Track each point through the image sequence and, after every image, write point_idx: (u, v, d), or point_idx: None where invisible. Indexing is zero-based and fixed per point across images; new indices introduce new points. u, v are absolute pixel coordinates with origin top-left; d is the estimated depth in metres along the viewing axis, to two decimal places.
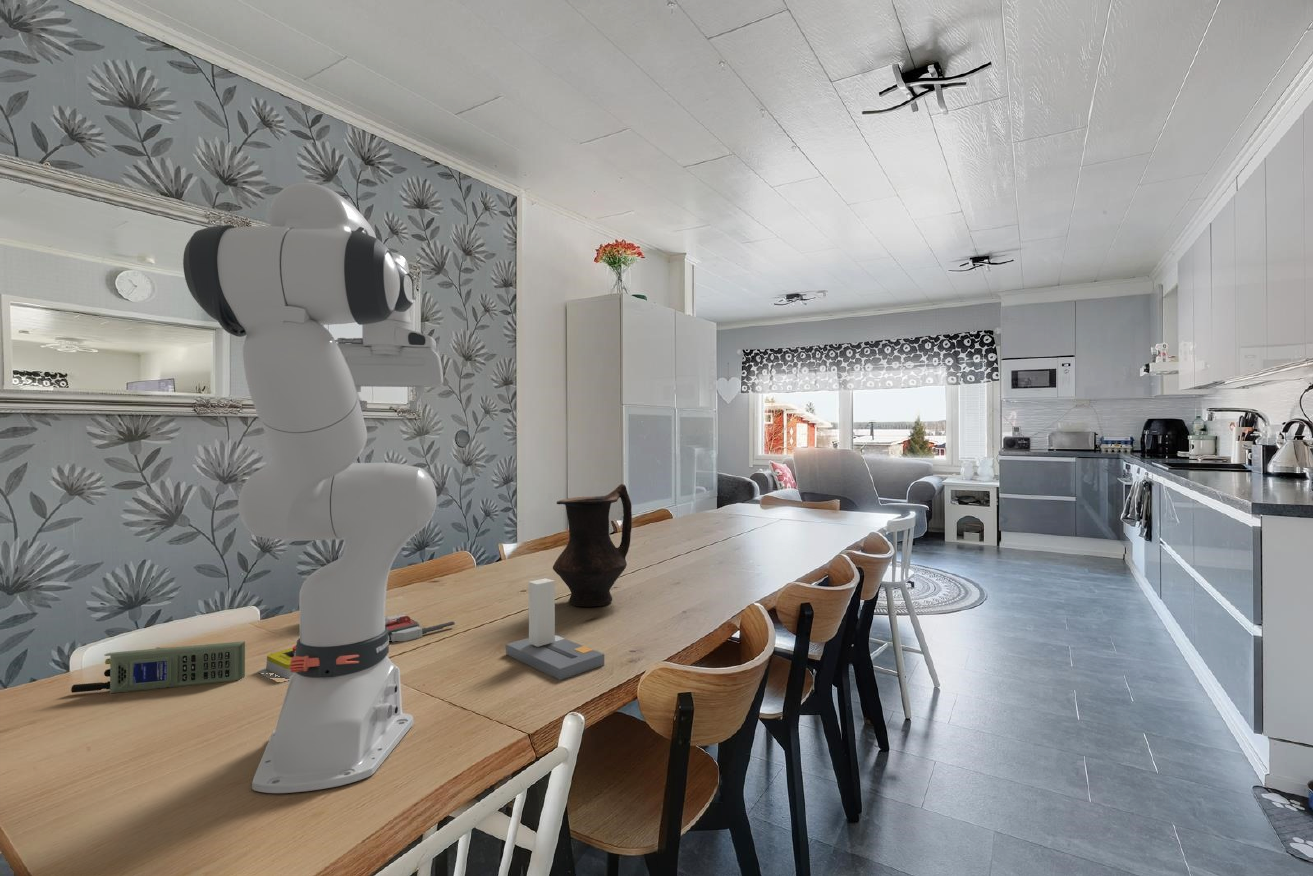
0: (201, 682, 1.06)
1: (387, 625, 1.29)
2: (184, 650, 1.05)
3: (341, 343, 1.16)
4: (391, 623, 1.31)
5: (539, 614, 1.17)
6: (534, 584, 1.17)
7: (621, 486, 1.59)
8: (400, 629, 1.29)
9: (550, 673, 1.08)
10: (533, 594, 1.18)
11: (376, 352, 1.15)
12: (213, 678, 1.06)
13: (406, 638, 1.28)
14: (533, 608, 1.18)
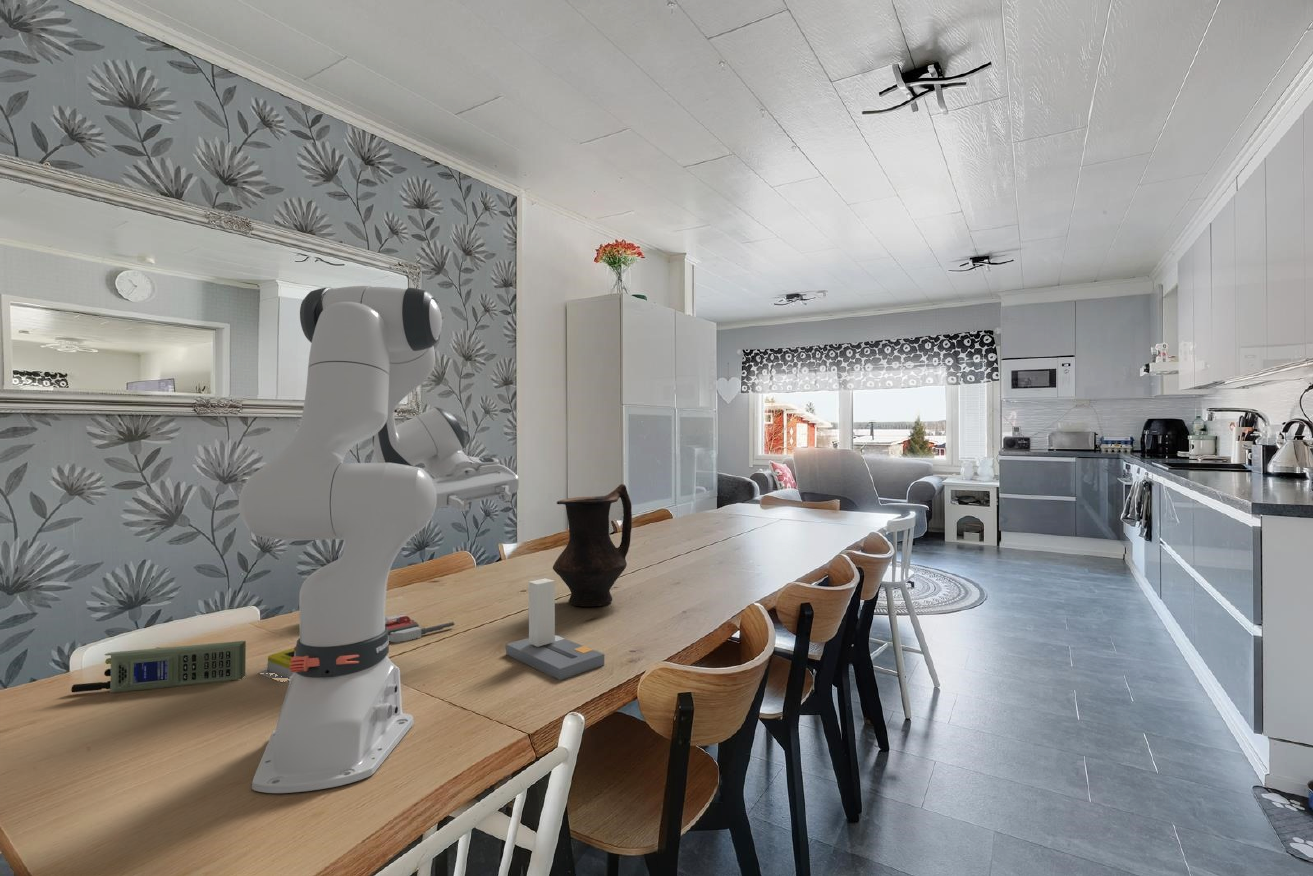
0: (202, 681, 1.06)
1: (386, 625, 1.29)
2: (185, 650, 1.06)
3: None
4: (390, 623, 1.31)
5: (539, 614, 1.17)
6: (534, 584, 1.17)
7: (621, 486, 1.59)
8: (399, 629, 1.28)
9: (550, 673, 1.08)
10: (533, 594, 1.18)
11: (459, 471, 1.33)
12: (214, 678, 1.07)
13: (405, 638, 1.27)
14: (533, 608, 1.18)
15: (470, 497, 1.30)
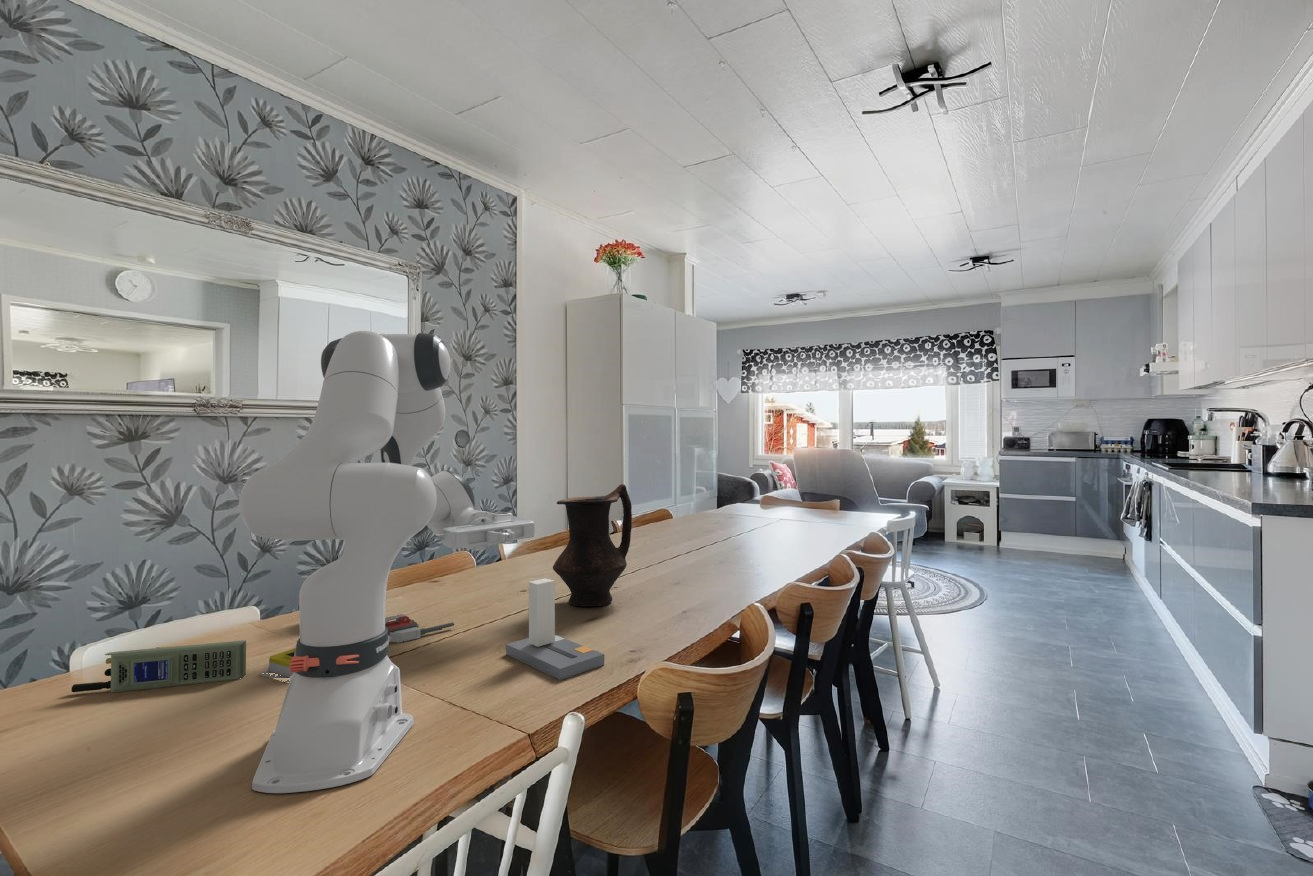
0: (202, 681, 1.06)
1: (386, 625, 1.29)
2: (185, 649, 1.06)
3: None
4: (390, 623, 1.30)
5: (539, 614, 1.17)
6: (534, 584, 1.17)
7: (621, 486, 1.59)
8: (398, 629, 1.28)
9: (550, 673, 1.08)
10: (533, 594, 1.18)
11: (476, 520, 1.34)
12: (214, 677, 1.07)
13: (404, 638, 1.27)
14: (533, 608, 1.18)
15: None
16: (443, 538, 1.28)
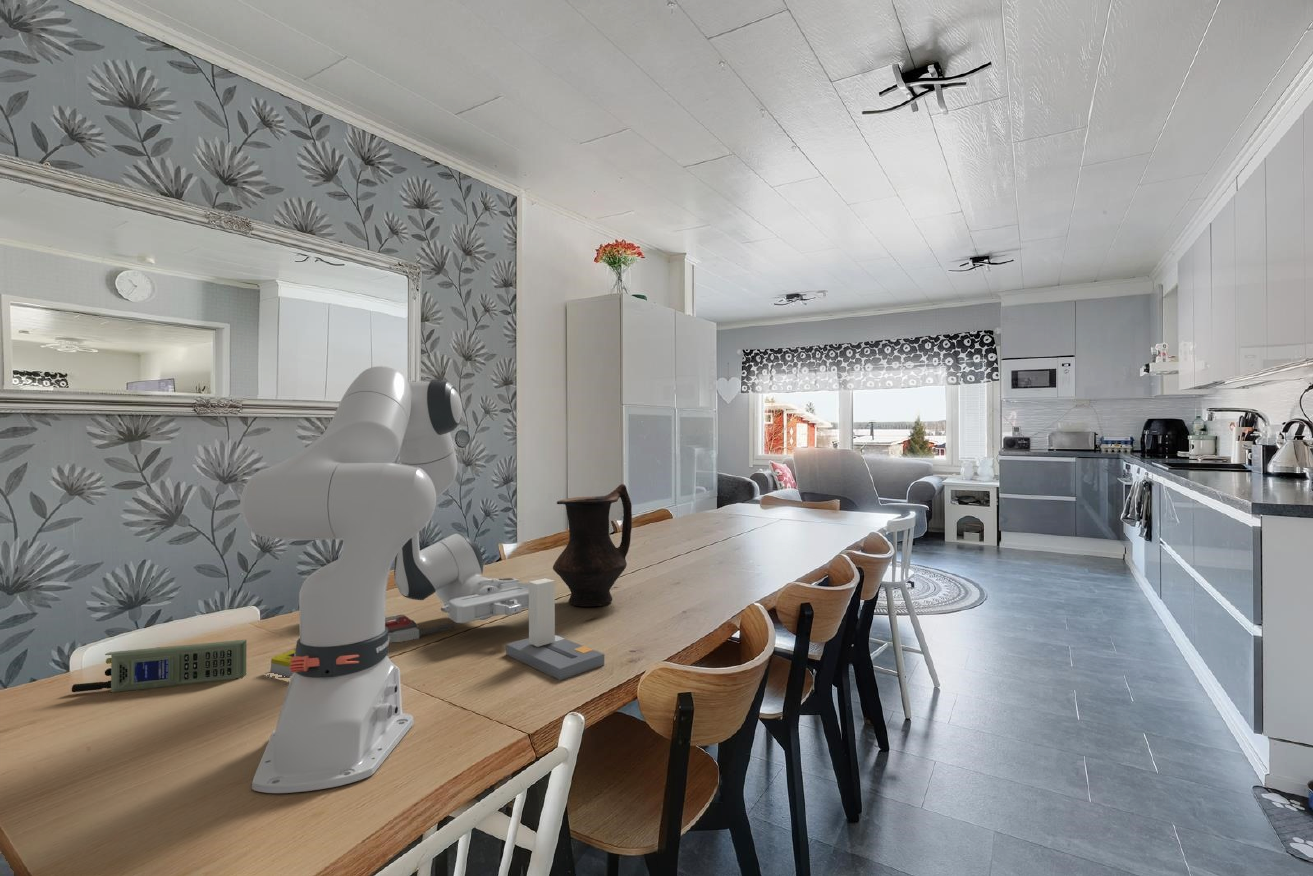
0: (203, 680, 1.07)
1: (385, 625, 1.29)
2: (186, 649, 1.06)
3: None
4: (389, 623, 1.30)
5: (539, 614, 1.17)
6: (534, 584, 1.17)
7: (621, 486, 1.59)
8: (397, 630, 1.28)
9: (550, 673, 1.08)
10: (533, 594, 1.18)
11: (482, 589, 1.32)
12: (215, 676, 1.07)
13: (402, 639, 1.27)
14: (533, 608, 1.18)
15: None
16: (449, 611, 1.25)
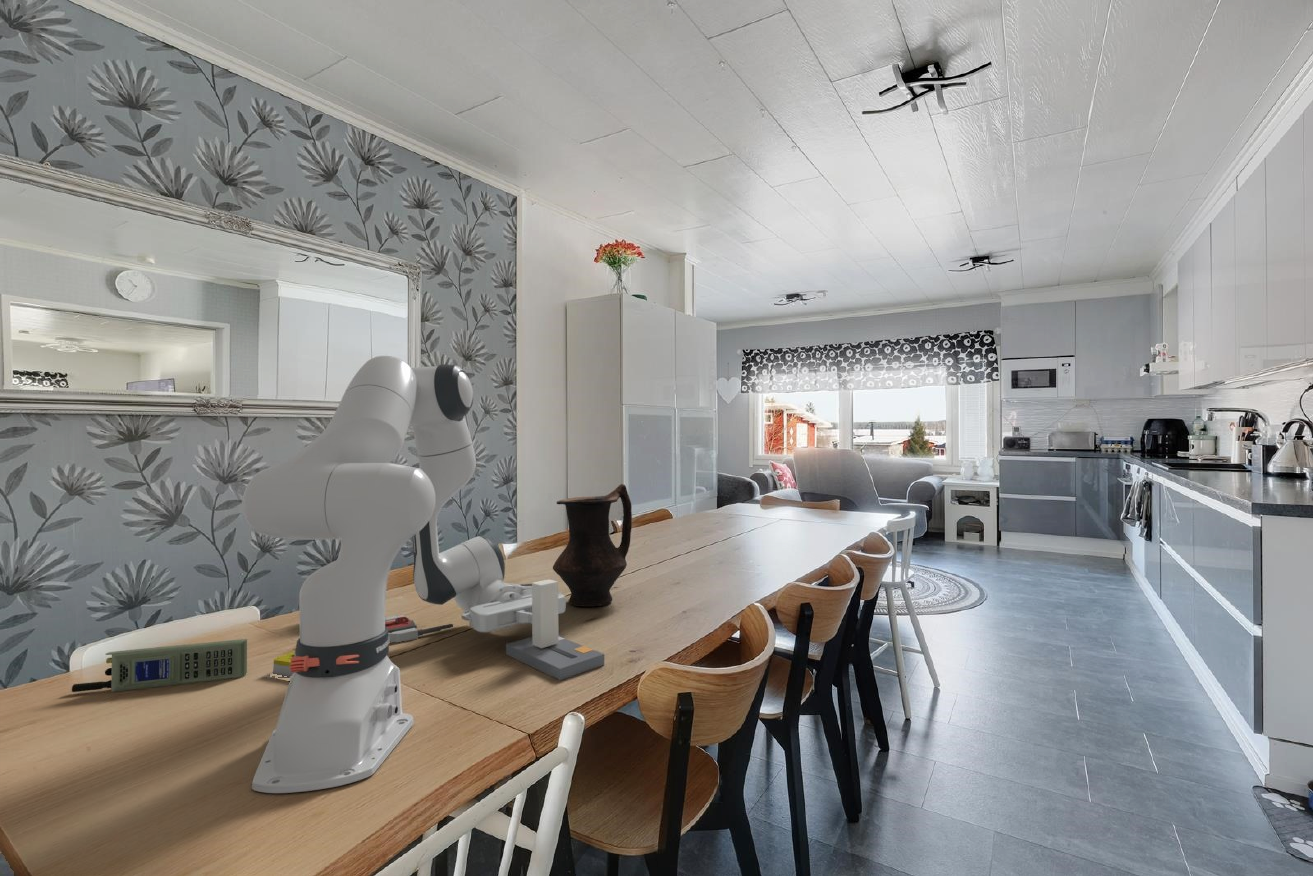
0: (204, 679, 1.07)
1: None
2: (186, 648, 1.06)
3: None
4: (389, 623, 1.30)
5: (542, 615, 1.16)
6: (538, 585, 1.17)
7: (621, 486, 1.59)
8: (396, 630, 1.28)
9: (550, 673, 1.08)
10: (536, 595, 1.17)
11: (504, 595, 1.26)
12: (216, 676, 1.07)
13: (401, 639, 1.27)
14: (537, 610, 1.17)
15: None
16: (470, 619, 1.19)
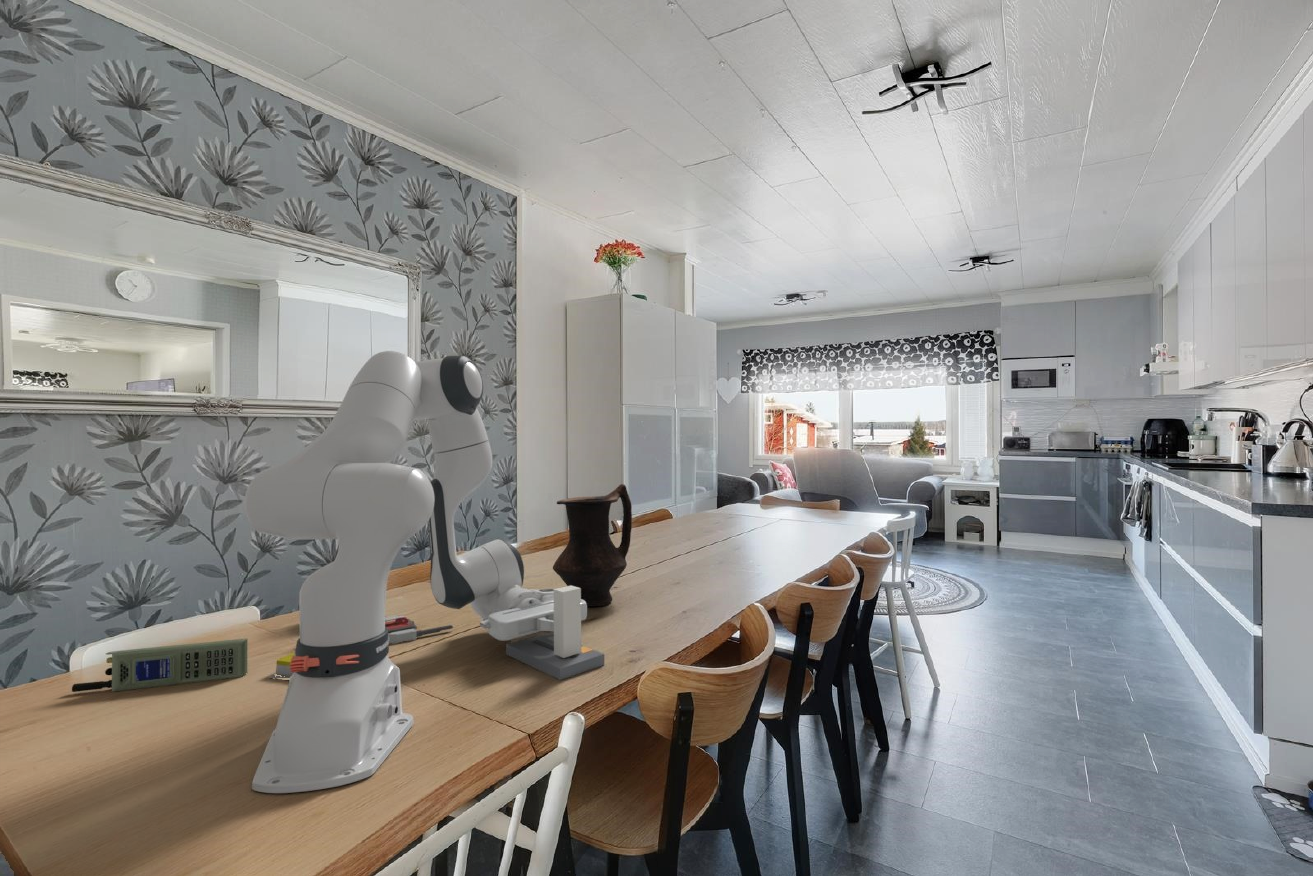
0: (204, 679, 1.07)
1: None
2: (187, 648, 1.07)
3: None
4: (388, 624, 1.30)
5: (565, 623, 1.11)
6: (560, 592, 1.11)
7: (621, 486, 1.59)
8: (395, 630, 1.28)
9: (550, 673, 1.08)
10: (559, 602, 1.12)
11: (524, 602, 1.21)
12: (216, 675, 1.08)
13: (399, 640, 1.26)
14: (559, 618, 1.12)
15: None
16: (489, 627, 1.14)
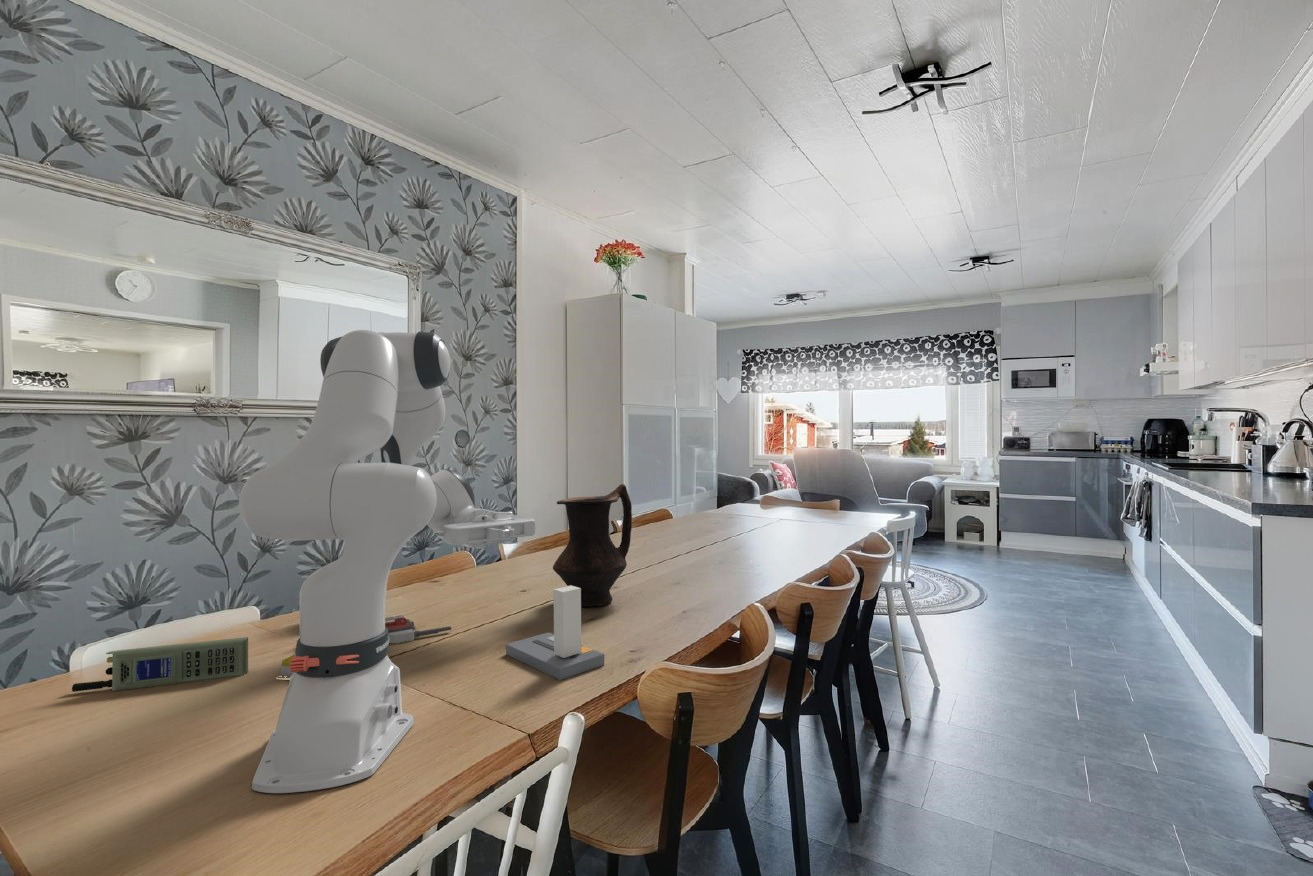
0: (205, 678, 1.08)
1: None
2: (188, 647, 1.07)
3: None
4: (387, 624, 1.30)
5: (565, 623, 1.11)
6: (560, 592, 1.11)
7: (621, 486, 1.59)
8: (393, 631, 1.28)
9: (550, 673, 1.08)
10: (559, 602, 1.12)
11: (477, 517, 1.34)
12: (217, 674, 1.08)
13: (397, 640, 1.26)
14: (559, 618, 1.12)
15: None
16: (443, 535, 1.27)
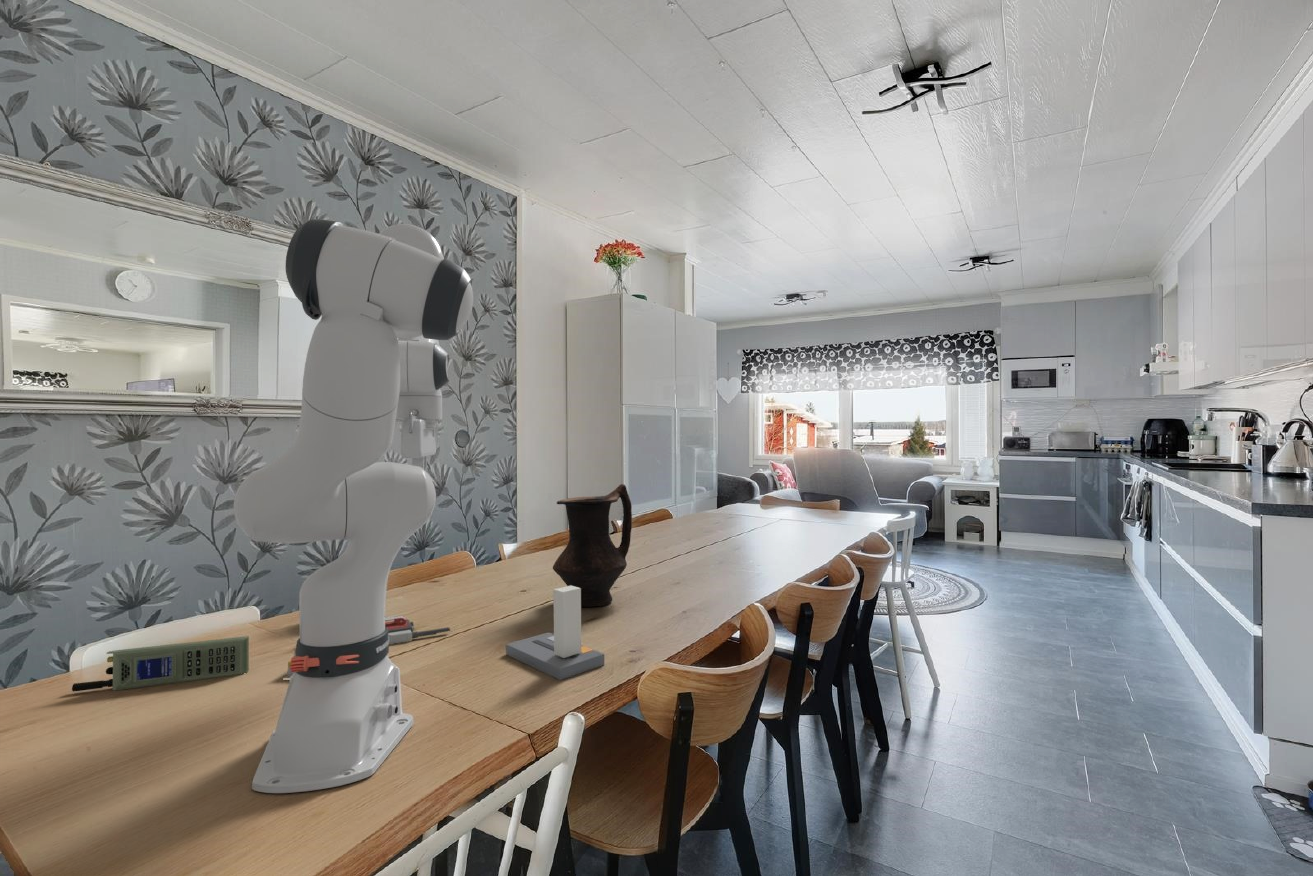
0: (206, 677, 1.08)
1: None
2: (189, 646, 1.07)
3: (413, 415, 1.15)
4: (386, 624, 1.30)
5: (565, 623, 1.11)
6: (560, 592, 1.11)
7: (621, 486, 1.59)
8: (391, 631, 1.27)
9: (550, 673, 1.08)
10: (559, 602, 1.12)
11: (432, 426, 1.22)
12: (218, 673, 1.09)
13: (394, 641, 1.26)
14: (559, 618, 1.12)
15: None
16: (409, 432, 1.14)
